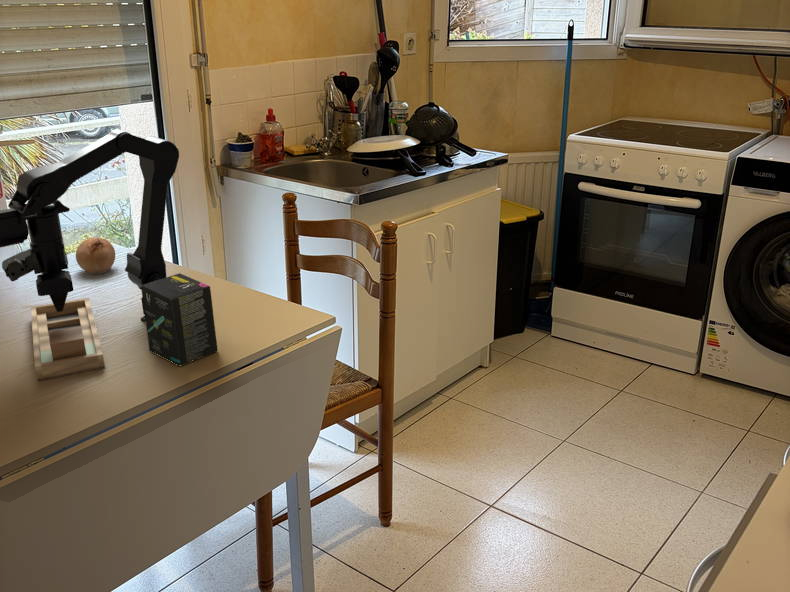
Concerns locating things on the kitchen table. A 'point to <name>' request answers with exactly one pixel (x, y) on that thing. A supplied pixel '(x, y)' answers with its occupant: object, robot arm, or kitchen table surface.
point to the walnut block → (67, 343)
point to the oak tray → (70, 317)
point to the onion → (95, 255)
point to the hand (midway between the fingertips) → (59, 311)
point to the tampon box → (179, 318)
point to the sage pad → (47, 355)
